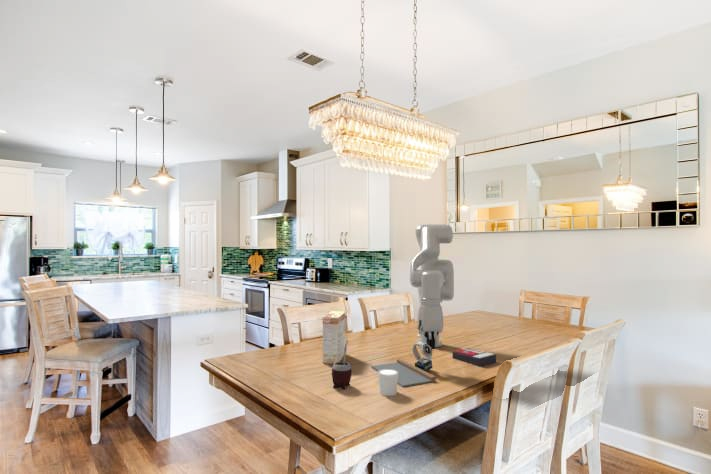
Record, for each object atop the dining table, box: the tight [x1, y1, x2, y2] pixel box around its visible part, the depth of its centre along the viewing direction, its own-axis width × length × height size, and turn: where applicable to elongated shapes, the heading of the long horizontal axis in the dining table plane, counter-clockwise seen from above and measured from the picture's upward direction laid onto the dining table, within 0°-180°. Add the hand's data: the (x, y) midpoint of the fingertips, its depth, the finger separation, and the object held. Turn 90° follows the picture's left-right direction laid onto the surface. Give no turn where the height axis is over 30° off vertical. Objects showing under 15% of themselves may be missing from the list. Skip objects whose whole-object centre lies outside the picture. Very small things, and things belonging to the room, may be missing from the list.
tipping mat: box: [370, 358, 437, 388], centre depth 150 cm, size 24×14×2 cm, turn 25°
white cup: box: [377, 369, 398, 397], centre depth 132 cm, size 7×7×7 cm
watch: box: [412, 342, 433, 372], centre depth 154 cm, size 6×8×11 cm
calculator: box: [451, 347, 497, 368], centre depth 169 cm, size 11×4×15 cm
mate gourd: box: [331, 339, 353, 391], centre depth 138 cm, size 8×8×15 cm
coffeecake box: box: [322, 310, 346, 365], centre depth 171 cm, size 15×7×20 cm, turn 168°
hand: (430, 348), depth 156 cm, fingers closed
